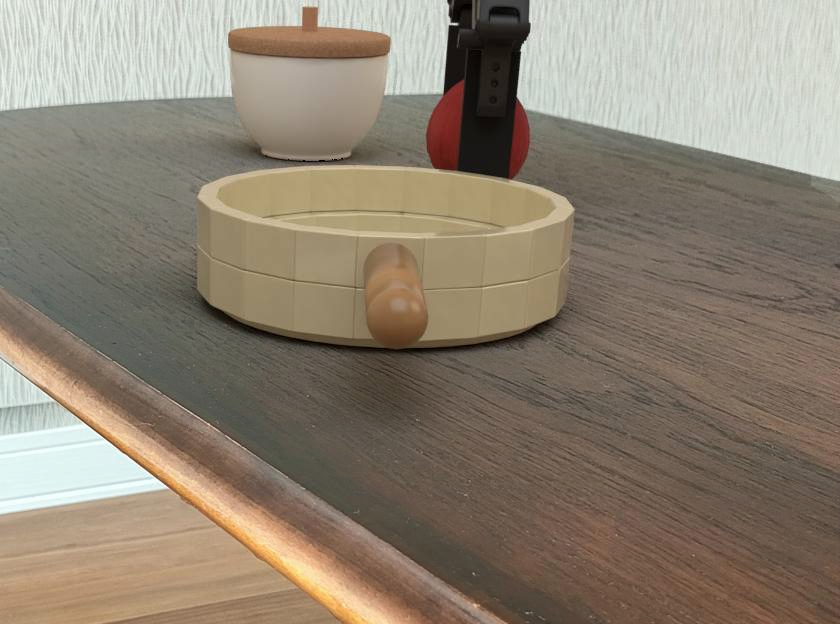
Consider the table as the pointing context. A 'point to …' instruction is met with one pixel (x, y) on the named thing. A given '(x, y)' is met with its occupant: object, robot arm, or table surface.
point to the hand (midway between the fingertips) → (471, 158)
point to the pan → (372, 226)
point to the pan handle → (394, 296)
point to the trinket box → (307, 86)
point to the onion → (447, 131)
